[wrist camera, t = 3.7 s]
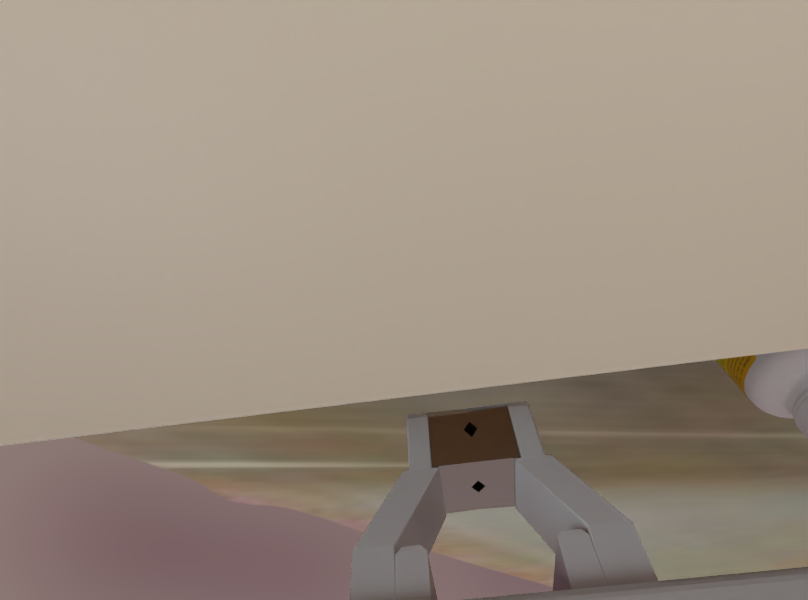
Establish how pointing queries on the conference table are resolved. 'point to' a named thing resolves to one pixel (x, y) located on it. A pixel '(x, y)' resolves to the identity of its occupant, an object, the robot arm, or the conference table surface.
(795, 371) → the supplement bottle
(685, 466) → the conference table surface
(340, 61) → the carton flap
